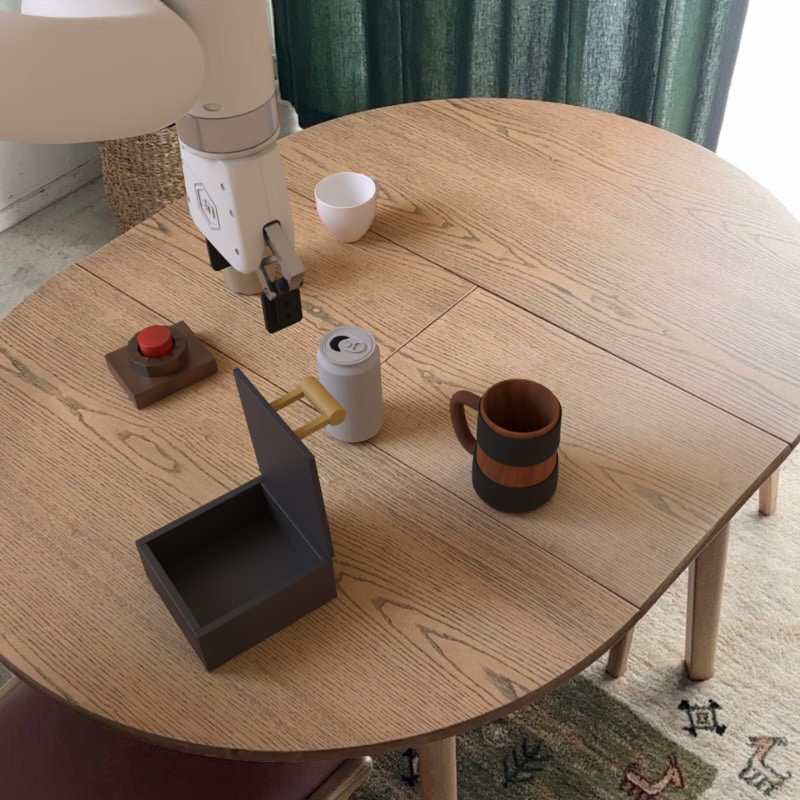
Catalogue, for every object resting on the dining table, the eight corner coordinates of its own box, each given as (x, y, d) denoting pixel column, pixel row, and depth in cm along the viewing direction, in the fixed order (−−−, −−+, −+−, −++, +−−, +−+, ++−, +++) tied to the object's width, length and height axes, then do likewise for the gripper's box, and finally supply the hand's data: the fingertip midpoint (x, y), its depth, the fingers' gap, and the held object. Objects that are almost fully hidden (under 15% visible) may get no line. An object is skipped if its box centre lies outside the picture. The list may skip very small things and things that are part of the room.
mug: (471, 428, 113) (473, 348, 105) (571, 474, 109) (582, 395, 100) (427, 480, 109) (426, 402, 100) (530, 531, 104) (538, 453, 95)
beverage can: (339, 397, 117) (331, 316, 108) (393, 412, 115) (389, 331, 107) (314, 437, 113) (304, 356, 104) (369, 453, 111) (363, 372, 103)
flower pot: (304, 274, 132) (297, 217, 126) (253, 315, 127) (243, 258, 121) (248, 247, 136) (239, 191, 130) (197, 286, 131) (185, 229, 125)
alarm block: (138, 410, 117) (130, 384, 114) (108, 369, 121) (100, 343, 118) (218, 372, 120) (212, 346, 118) (186, 333, 125) (180, 308, 122)
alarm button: (149, 362, 116) (146, 351, 115) (135, 344, 119) (131, 333, 117) (178, 349, 118) (175, 338, 117) (164, 331, 120) (161, 320, 119)
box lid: (308, 459, 84) (369, 424, 86) (231, 369, 91) (290, 339, 93) (329, 560, 95) (384, 526, 97) (260, 472, 102) (311, 443, 104)
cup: (306, 236, 137) (301, 193, 132) (356, 199, 143) (353, 156, 138) (351, 259, 134) (348, 215, 129) (401, 220, 139) (400, 177, 134)
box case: (208, 673, 94) (197, 638, 90) (147, 577, 101) (134, 541, 97) (337, 596, 99) (332, 560, 95) (270, 510, 107) (263, 473, 102)
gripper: (130, 80, 81) (171, 258, 93) (236, 188, 71) (266, 371, 83) (218, 51, 83) (246, 227, 96) (332, 150, 73) (348, 333, 86)
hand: (256, 293), depth 89 cm, fingers open, 9 cm apart
